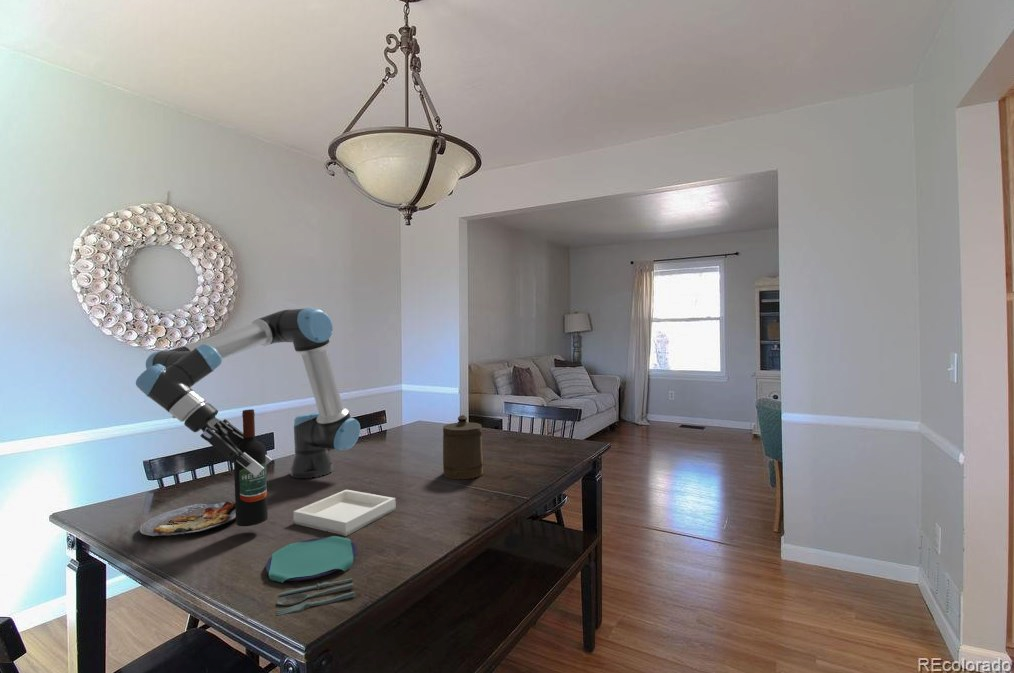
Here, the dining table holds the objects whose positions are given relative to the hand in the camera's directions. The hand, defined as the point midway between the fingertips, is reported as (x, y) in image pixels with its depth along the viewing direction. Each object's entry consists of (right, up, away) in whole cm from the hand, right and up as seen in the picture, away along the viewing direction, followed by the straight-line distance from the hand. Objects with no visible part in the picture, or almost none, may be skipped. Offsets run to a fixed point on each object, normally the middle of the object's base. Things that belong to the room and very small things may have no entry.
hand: (264, 467), depth 128 cm
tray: (+19, -17, +10) cm, 27 cm away
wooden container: (+50, -16, +50) cm, 72 cm away
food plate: (-24, -18, +8) cm, 31 cm away
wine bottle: (-3, -14, -1) cm, 15 cm away
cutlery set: (+22, -18, -22) cm, 36 cm away
